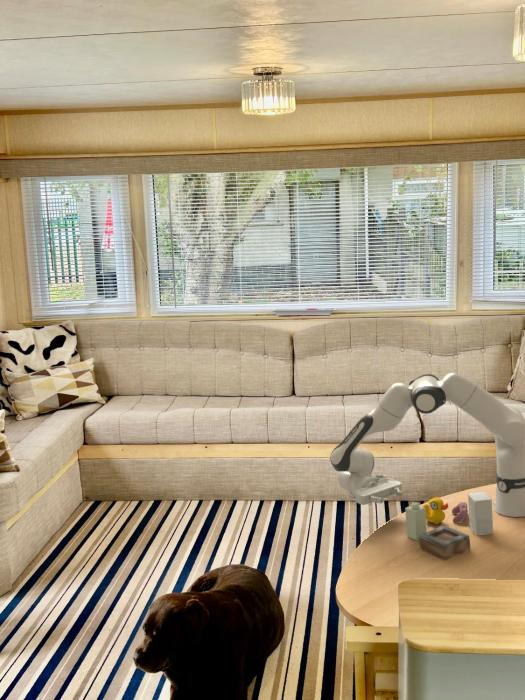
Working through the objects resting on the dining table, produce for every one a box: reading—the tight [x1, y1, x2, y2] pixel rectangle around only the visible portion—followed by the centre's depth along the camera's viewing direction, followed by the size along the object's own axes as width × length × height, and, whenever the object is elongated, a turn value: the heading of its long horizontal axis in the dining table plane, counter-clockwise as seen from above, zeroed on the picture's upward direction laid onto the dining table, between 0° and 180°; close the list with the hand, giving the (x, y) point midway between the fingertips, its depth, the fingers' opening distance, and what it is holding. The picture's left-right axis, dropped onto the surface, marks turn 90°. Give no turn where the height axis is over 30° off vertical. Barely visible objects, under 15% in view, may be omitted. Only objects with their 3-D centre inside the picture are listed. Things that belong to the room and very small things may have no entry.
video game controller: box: [451, 501, 469, 524], centre depth 288 cm, size 10×5×7 cm, turn 169°
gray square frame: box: [419, 524, 471, 561], centre depth 264 cm, size 12×12×5 cm
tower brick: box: [404, 502, 428, 541], centre depth 276 cm, size 5×5×12 cm
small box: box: [467, 491, 494, 536], centre depth 275 cm, size 8×6×13 cm
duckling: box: [422, 496, 449, 525], centre depth 286 cm, size 11×5×10 cm, turn 44°
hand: (391, 497), depth 285 cm, fingers open, 8 cm apart
